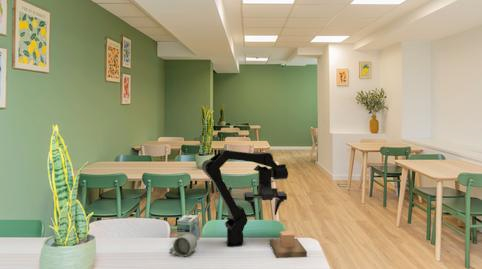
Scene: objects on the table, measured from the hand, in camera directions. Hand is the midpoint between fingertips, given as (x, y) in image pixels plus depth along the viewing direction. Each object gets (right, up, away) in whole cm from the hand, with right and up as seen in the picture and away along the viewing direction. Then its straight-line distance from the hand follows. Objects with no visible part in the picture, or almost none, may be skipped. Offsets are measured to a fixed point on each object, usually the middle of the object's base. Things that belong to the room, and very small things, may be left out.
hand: (265, 215), depth 163 cm
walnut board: (+8, -11, -13) cm, 19 cm away
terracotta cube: (+8, -9, -13) cm, 18 cm away
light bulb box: (-34, -12, -2) cm, 36 cm away
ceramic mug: (-34, -12, -16) cm, 39 cm away
